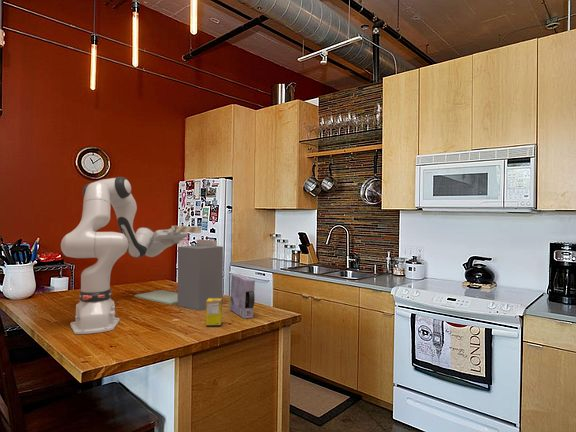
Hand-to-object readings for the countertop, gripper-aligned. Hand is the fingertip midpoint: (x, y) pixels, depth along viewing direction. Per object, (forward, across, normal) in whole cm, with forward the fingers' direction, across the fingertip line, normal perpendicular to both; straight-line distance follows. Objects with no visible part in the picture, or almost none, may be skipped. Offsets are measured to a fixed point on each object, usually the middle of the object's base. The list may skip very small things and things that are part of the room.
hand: (178, 228), depth 210 cm
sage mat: (-28, 0, +29) cm, 40 cm away
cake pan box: (+21, 0, +57) cm, 61 cm away
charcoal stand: (-4, 0, +43) cm, 43 cm away
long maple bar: (+4, 0, +5) cm, 7 cm away
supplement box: (+23, -20, +58) cm, 66 cm away
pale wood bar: (+10, +5, +16) cm, 20 cm away
